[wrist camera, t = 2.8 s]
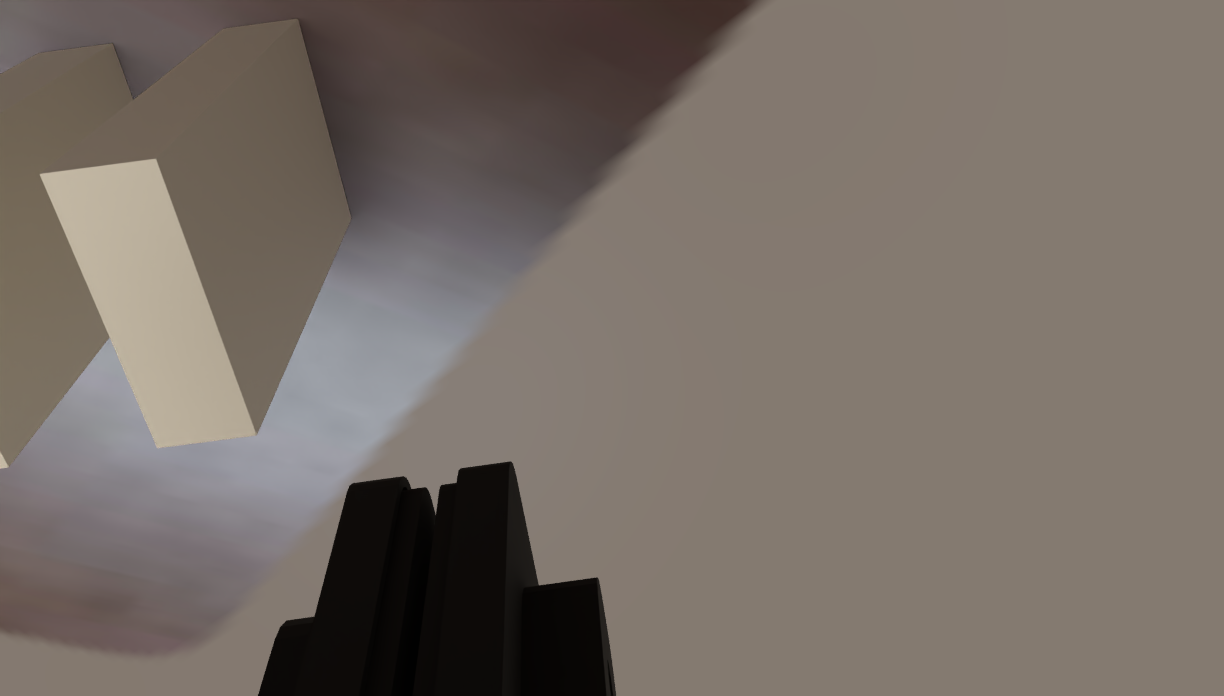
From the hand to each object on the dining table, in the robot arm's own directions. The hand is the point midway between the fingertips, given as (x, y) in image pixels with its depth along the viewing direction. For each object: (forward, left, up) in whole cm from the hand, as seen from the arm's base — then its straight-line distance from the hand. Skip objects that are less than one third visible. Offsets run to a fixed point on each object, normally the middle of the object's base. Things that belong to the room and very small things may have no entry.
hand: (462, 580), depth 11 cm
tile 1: (+6, 0, -17) cm, 18 cm away
